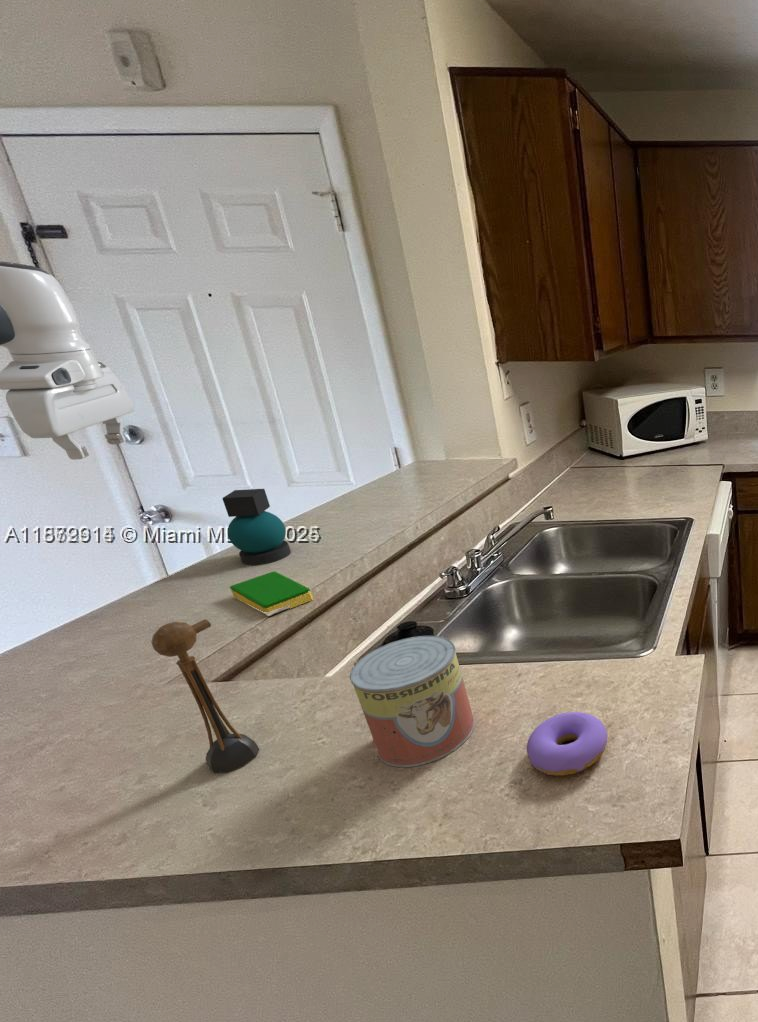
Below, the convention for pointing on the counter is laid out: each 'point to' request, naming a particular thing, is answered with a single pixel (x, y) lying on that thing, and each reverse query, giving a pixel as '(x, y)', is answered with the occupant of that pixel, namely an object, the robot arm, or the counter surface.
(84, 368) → the robot arm
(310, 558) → the counter surface
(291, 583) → the dish sponge
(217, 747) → the wooden tabletop sculpture
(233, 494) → the block
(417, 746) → the canned food
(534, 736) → the donut
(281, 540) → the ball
